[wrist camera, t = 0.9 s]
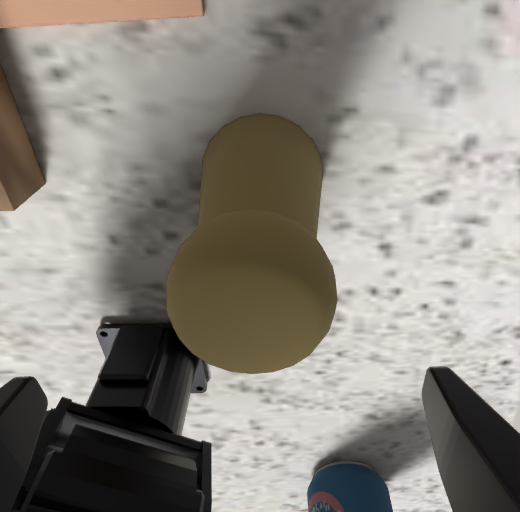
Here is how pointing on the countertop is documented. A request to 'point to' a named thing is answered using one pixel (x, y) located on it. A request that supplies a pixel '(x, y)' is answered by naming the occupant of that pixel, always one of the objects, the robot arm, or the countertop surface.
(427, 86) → the countertop surface
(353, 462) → the soda can
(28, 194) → the corner arena
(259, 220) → the olive pepper mill
